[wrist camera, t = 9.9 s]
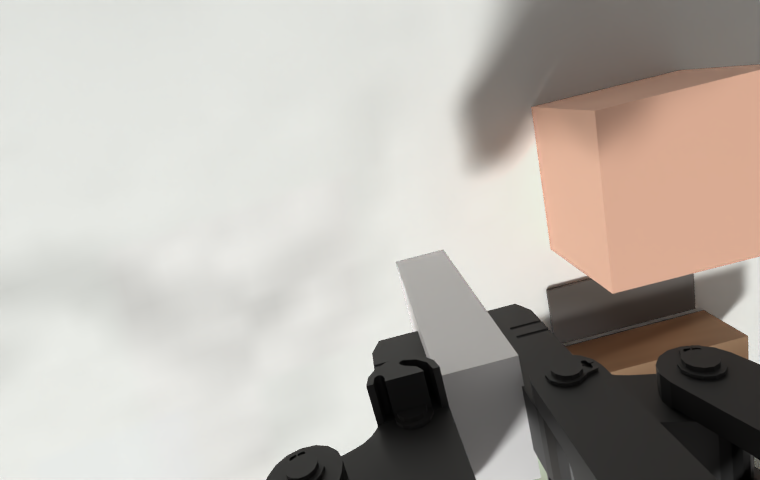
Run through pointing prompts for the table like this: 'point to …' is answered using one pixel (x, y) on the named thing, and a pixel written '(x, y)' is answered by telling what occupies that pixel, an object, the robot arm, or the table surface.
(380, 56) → the table surface
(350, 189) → the table surface
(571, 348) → the trap box
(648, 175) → the block
